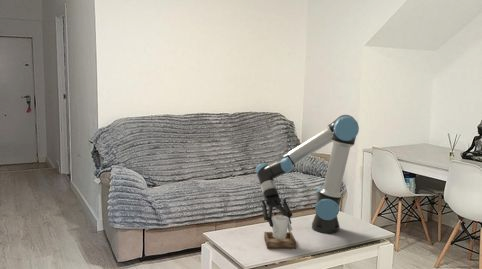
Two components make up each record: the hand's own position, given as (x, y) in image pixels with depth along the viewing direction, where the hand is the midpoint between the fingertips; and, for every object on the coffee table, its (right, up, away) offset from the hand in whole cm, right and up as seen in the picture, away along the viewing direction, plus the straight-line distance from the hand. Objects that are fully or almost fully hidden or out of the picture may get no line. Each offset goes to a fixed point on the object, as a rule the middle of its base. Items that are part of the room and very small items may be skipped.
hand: (283, 231), depth 213 cm
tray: (-1, -7, +4) cm, 8 cm away
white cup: (-2, -4, +4) cm, 6 cm away
